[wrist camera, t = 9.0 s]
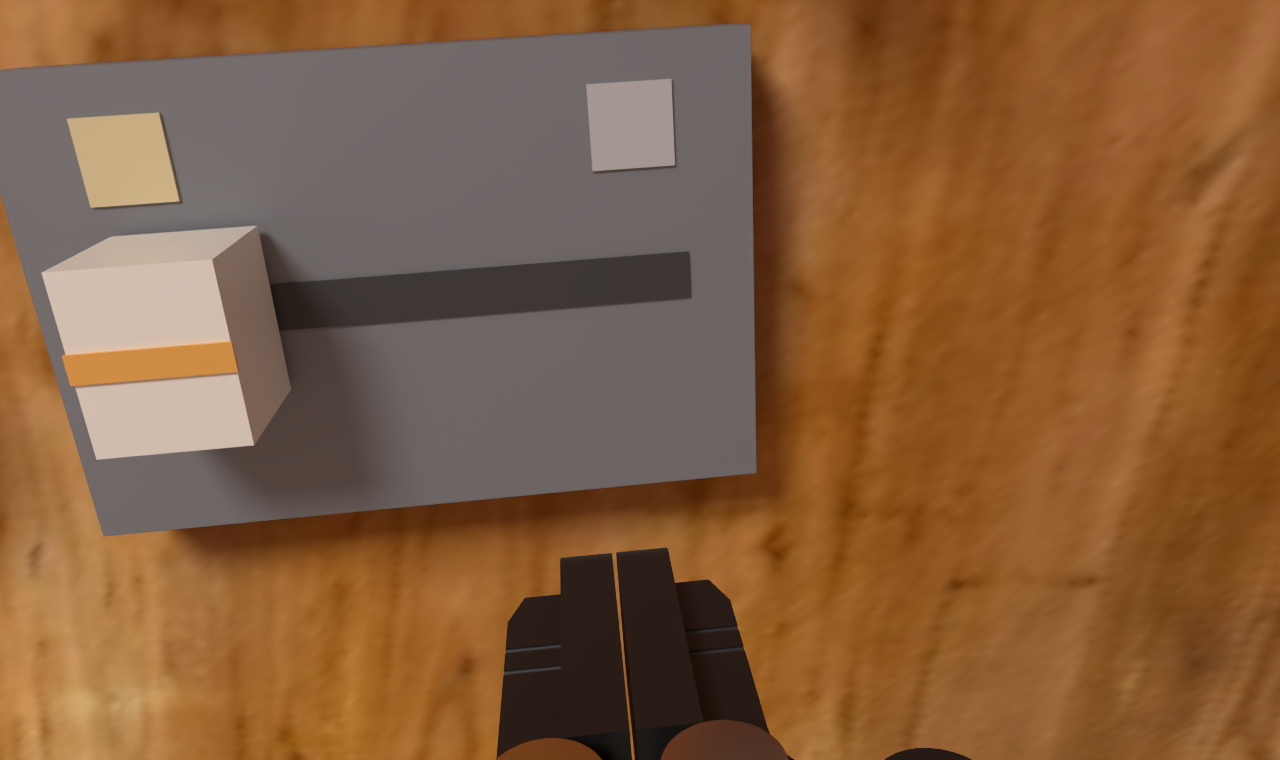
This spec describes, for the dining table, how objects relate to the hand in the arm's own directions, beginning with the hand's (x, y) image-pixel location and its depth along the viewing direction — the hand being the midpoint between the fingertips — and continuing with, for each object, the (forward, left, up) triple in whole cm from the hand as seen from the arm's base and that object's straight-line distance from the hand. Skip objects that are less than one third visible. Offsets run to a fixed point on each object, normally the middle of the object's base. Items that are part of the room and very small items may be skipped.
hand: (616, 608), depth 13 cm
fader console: (+5, 0, -20) cm, 20 cm away
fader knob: (+11, 0, -16) cm, 20 cm away
